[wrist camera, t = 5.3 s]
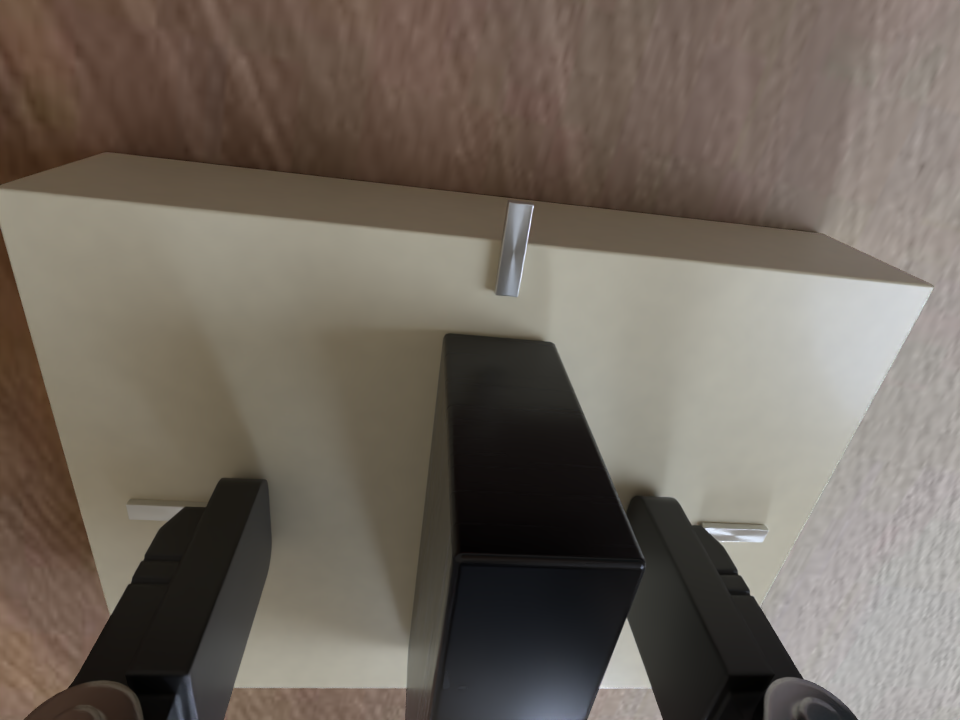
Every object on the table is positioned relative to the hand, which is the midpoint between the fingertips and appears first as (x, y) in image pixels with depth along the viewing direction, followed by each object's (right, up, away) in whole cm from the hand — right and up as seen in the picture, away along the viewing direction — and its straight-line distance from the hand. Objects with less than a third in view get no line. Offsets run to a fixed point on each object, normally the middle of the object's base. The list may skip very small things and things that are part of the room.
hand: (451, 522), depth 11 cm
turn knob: (0, 0, 0) cm, 0 cm away
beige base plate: (0, +1, +3) cm, 3 cm away
